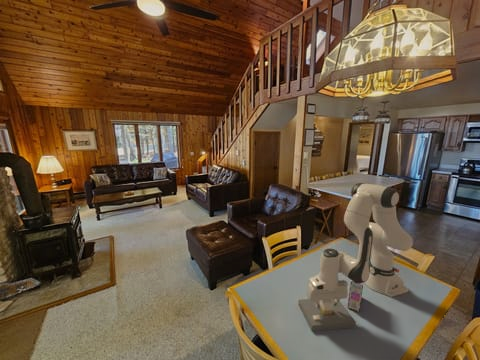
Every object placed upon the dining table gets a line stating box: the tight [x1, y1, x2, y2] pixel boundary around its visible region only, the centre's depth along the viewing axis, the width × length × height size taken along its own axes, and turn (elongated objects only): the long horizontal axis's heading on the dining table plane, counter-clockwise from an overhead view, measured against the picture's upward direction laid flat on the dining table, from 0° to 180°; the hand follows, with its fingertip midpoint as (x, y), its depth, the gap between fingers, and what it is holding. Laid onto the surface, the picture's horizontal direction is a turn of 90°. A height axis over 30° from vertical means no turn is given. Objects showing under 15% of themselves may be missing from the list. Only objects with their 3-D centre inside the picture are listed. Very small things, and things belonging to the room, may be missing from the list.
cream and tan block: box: [319, 300, 333, 315], centre depth 103 cm, size 4×4×9 cm
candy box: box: [347, 279, 364, 313], centre depth 112 cm, size 14×6×16 cm, turn 148°
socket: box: [298, 298, 357, 332], centre depth 104 cm, size 22×16×4 cm
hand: (326, 305), depth 103 cm, fingers open, 8 cm apart
